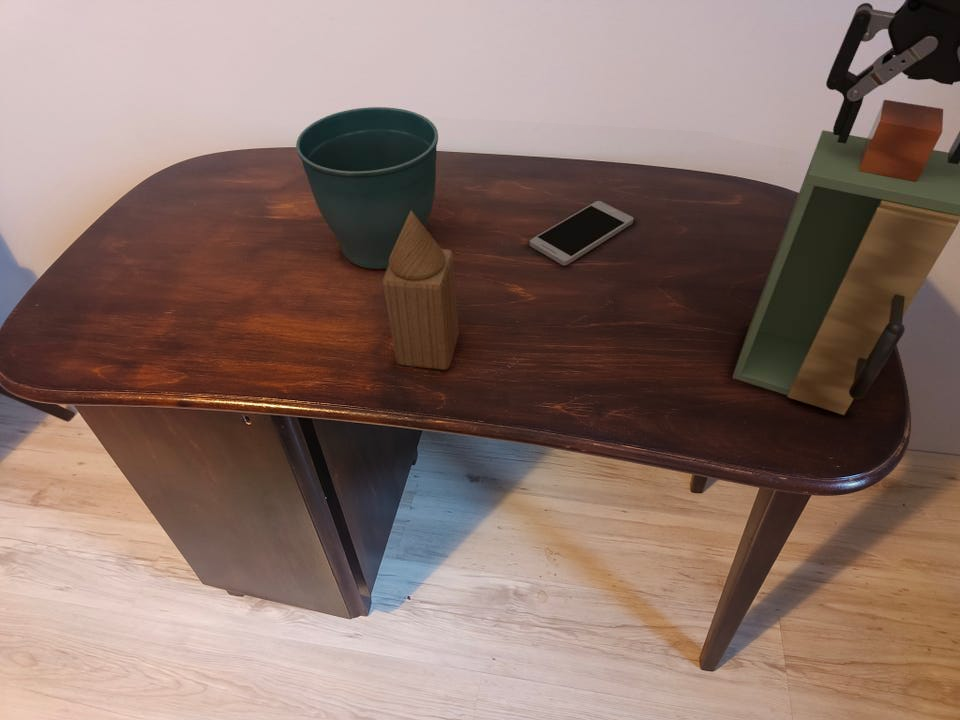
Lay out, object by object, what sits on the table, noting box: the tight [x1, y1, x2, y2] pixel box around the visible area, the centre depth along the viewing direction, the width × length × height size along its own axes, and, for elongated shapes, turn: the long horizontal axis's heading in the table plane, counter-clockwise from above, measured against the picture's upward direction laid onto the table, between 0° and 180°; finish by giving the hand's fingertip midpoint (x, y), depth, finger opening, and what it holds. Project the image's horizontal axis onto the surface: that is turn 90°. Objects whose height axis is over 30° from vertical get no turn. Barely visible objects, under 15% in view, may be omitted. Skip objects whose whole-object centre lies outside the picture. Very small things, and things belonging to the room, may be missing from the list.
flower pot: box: [295, 106, 439, 270], centre depth 88 cm, size 18×18×17 cm
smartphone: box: [529, 200, 634, 266], centre depth 94 cm, size 7×16×1 cm, turn 132°
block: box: [859, 99, 944, 182], centre depth 54 cm, size 4×4×4 cm
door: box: [786, 207, 957, 416], centre depth 59 cm, size 6×6×24 cm
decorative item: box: [382, 211, 460, 371], centre depth 71 cm, size 7×7×20 cm
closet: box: [731, 129, 960, 396], centre depth 65 cm, size 12×10×26 cm
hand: (896, 149), depth 55 cm, fingers open, 8 cm apart
